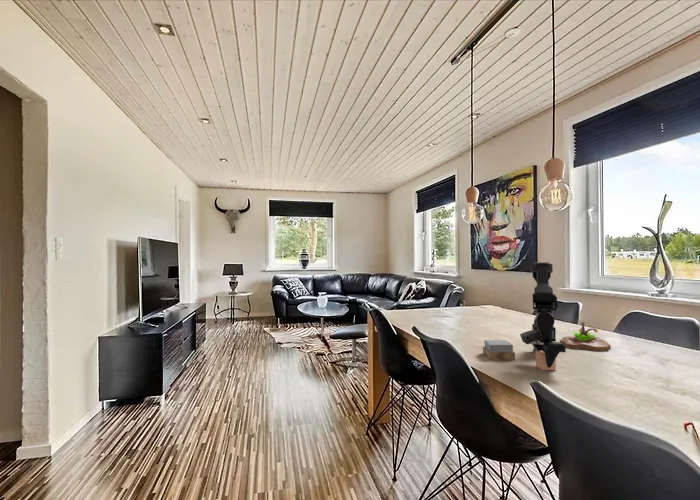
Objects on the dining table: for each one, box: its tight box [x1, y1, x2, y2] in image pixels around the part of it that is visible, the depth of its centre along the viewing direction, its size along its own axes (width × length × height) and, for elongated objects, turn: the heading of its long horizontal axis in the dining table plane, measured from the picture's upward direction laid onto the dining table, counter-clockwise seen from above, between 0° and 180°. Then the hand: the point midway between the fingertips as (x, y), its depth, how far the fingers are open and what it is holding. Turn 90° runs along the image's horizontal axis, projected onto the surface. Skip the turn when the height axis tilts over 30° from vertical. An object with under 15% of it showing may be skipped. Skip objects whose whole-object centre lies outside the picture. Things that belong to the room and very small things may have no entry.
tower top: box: [484, 339, 514, 352], centre depth 151 cm, size 9×9×3 cm
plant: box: [559, 321, 612, 352], centre depth 168 cm, size 20×20×11 cm
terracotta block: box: [535, 350, 557, 371], centre depth 134 cm, size 5×5×6 cm
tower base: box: [482, 345, 516, 361], centre depth 151 cm, size 10×10×4 cm
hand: (545, 365), depth 134 cm, fingers closed on terracotta block, 5 cm apart
